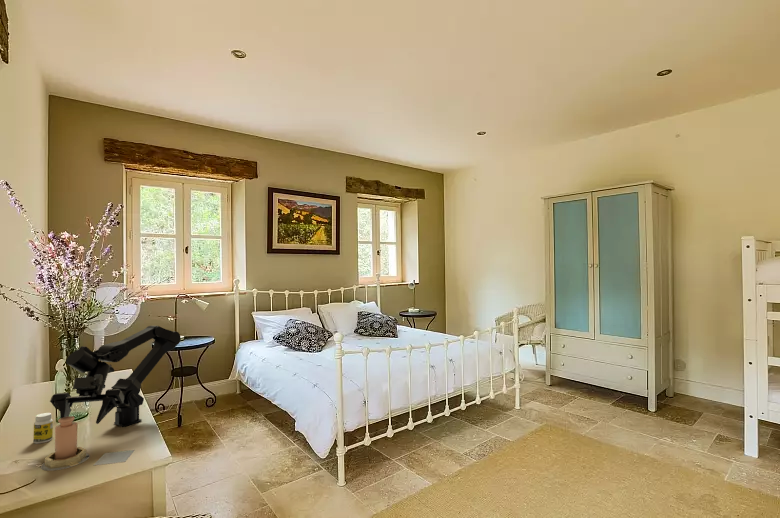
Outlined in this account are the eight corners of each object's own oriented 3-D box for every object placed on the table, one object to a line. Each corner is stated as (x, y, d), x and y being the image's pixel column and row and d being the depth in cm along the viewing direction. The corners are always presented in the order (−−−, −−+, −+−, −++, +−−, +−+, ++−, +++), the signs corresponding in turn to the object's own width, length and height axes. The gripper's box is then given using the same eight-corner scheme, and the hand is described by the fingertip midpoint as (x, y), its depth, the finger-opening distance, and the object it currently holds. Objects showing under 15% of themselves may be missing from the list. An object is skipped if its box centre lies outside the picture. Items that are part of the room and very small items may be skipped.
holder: (78, 451, 125) (78, 442, 125) (97, 459, 120) (97, 450, 120) (33, 466, 115) (33, 457, 115) (51, 476, 110) (51, 466, 110)
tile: (104, 455, 122) (104, 453, 122) (135, 451, 124) (135, 449, 124) (92, 467, 115) (92, 465, 115) (125, 463, 117) (125, 461, 117)
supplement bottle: (30, 445, 130) (31, 418, 130) (36, 439, 134) (37, 413, 135) (49, 442, 132) (50, 415, 132) (54, 436, 136) (55, 411, 137)
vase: (72, 455, 121) (72, 414, 121) (80, 459, 119) (80, 417, 119) (51, 462, 117) (51, 419, 117) (59, 466, 114) (60, 422, 114)
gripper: (53, 367, 128) (32, 415, 118) (121, 363, 133) (107, 409, 122) (66, 386, 136) (47, 432, 125) (129, 381, 141) (117, 426, 130)
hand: (79, 424), depth 125 cm, fingers open, 9 cm apart
